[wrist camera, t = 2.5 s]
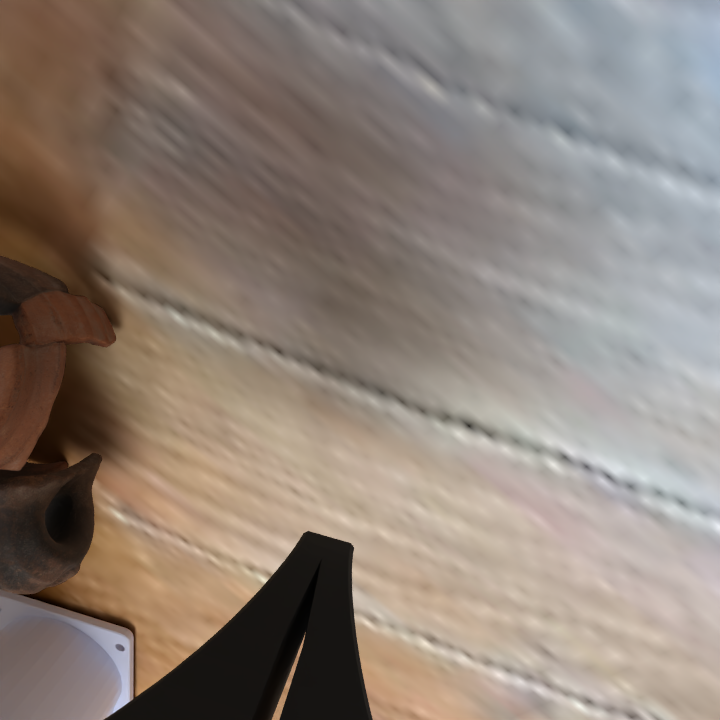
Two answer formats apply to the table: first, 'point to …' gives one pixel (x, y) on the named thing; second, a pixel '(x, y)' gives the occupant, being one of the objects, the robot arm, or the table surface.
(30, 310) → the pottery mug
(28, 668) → the robot arm
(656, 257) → the table surface
